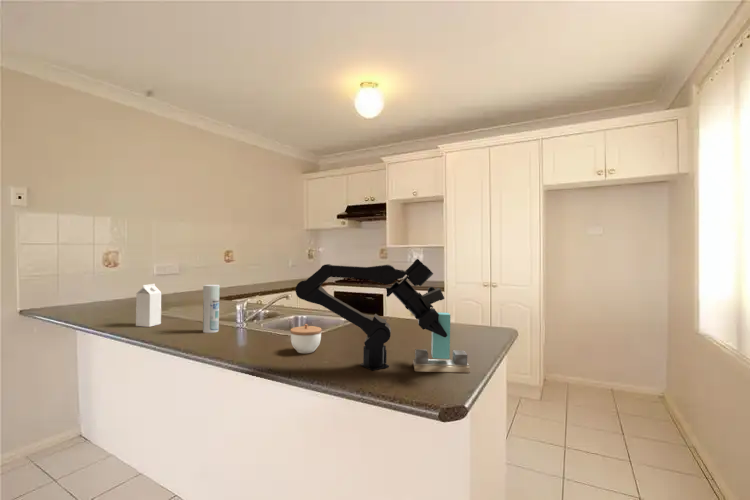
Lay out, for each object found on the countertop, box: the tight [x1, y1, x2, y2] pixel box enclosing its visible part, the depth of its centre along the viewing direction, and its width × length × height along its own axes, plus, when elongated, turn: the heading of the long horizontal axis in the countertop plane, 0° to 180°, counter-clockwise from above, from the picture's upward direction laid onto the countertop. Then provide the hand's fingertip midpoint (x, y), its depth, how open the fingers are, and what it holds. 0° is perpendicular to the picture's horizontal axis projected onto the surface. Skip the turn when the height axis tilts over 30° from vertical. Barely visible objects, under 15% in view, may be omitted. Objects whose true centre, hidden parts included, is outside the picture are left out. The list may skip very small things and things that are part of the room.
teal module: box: [430, 311, 451, 360], centre depth 112 cm, size 5×4×13 cm
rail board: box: [412, 348, 471, 374], centre depth 112 cm, size 16×7×5 cm, turn 87°
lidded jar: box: [290, 323, 322, 354], centre depth 130 cm, size 11×11×9 cm
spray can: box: [202, 284, 221, 334], centre depth 160 cm, size 6×6×20 cm
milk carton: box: [135, 283, 162, 328], centre depth 171 cm, size 7×7×19 cm
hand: (445, 334), depth 112 cm, fingers closed on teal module, 4 cm apart
